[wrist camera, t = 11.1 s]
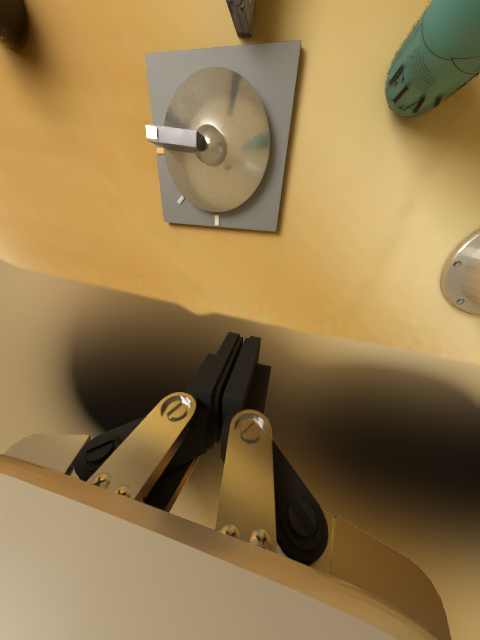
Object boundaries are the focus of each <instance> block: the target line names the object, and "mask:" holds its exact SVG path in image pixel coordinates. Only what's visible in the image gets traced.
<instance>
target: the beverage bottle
mask: <svg viewBox="0 0 480 640" xmlns="http://www.w3.org/2000/svg"><path fill="white" fill-rule="evenodd" d="M427 5H428V4H427ZM425 10H426V11H425V12H424V14H423V15H422V14H421V15H422V17H421V16H420V17H421V18H419V17H418V19H420V20H418V23H417V24H416V26H415V27H414V26H413V27H414V28H413V30H412V29H411V30H410V31H412V32H410V31H409V32H410V35H409V34H408V35H409V36H408V35H407V37H408V38H406V40H405V39H404V40H405V42H404V44H403V46H402V47H401V46H400V47H401V49H400V48H399V51H398V53H397V52H396V53H395V54H397V55H395V59H394V58H393V63H391V68H390V70H389V69H388V70H389V72H388V73H389V74H388V73H387V74H388V78H387V77H386V78H387V83H385V86H386V91H385V94H386V99H387V103H388V105H389V107H390V108H391V110H393V111H394V112H395V113H396V114H398V115H401V116H404V117H406V116H413V115H418V116H419V114H422V113H423V112H424V114H425V111H427V110H429V109H431V108H432V107H433V108H434V107H437V106H438V105H439V103H440V102H441V101H442V100H444V99H445V98H447V96H448V95H449V96H450V94H451V93H452V92H454V91H455V90H457V91H458V89H459V88H460V87H461V88H462V86H463V85H466V83H467V82H468V81H470V80H471V79H472V78H474V77H475V76H476V75H478V74H479V73H480V0H432V1H431V3H430V5H429V6H428V8H427V9H425ZM422 13H423V12H422ZM401 45H402V44H401ZM391 62H392V61H391ZM479 75H480V74H479ZM475 78H476V77H475ZM461 88H460V89H461ZM460 89H459V90H460ZM454 93H455V92H454ZM452 94H453V93H452ZM447 99H448V98H447ZM431 110H432V109H431ZM429 111H430V110H429ZM427 112H428V111H427ZM413 117H415V116H413Z"/></svg>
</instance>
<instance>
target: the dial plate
mask: <svg viewBox="0 0 480 640" xmlns="http://www.w3.org/2000/svg"><path fill="white" fill-rule="evenodd" d="M300 51H301V40H297V41H285V42H273V43H262V44H250V45H238V46H227V47H215V48H203V49H192V50H180V51H168V52H156V53H145V58H146V67H147V76H148V84H149V93H150V102H151V111H152V119H153V125H157V126H164V121H165V116H166V113H167V109H168V106H169V104H170V101H171V99H172V97H173V95H174V94H175V92H176V90H177V89H178V87H179V86H180V85H181V84H182V82H183V81H184V80H186V79H187V78H188V77H189V76H190V75H192V74H193V73H195V72H196V71H199V70H201V69H203V68H208V67H224V68H228V69H230V70H233V71H235V72H237V73H238V74H240V75H241V76H242V77H244V78H245V79H246V80H247V81H248V82H249V83H250V84H251V86H252V87H253V88H254V89H255V91H256V93H257V94H258V96H259V98H260V100H261V102H262V105H263V107H264V110H265V113H266V116H267V120H268V124H269V129H270V156H269V161H268V166H267V169H266V172H265V175H264V178H263V180H262V182H261V184H260V186H259V187H258V189H257V190H256V192H255V193H254V194H253V195H252V197H251V198H250V199H249V200H248V201H246V202H245V203H244V204H242V205H241V206H239V207H237V208H235V209H233V210H230V211H225V212H210V211H206V210H203V209H200V208H198V207H196V206H195V205H193V204H192V203H190V202H189V201H188V200H187V199H186V198H185V197H184V196H183V195H182V194H181V193H180V192H179V190H178V189H177V187H176V186H175V184H174V182H173V180H172V178H171V176H170V174H169V171H168V168H167V165H166V161H165V156H164V149H163V147H160V146H158V145H156V144H155V145H156V154H157V163H158V172H159V180H160V189H161V198H162V207H163V215H164V222H168V223H180V224H191V225H203V226H215V227H226V228H238V229H250V230H262V231H273V232H276V231H277V224H278V216H279V209H280V201H281V194H282V186H283V179H284V171H285V164H286V156H287V148H288V141H289V133H290V126H291V118H292V111H293V103H294V96H295V88H296V81H297V73H298V66H299V58H300Z"/></svg>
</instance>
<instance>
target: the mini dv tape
mask: <svg viewBox="0 0 480 640" xmlns="http://www.w3.org/2000/svg"><path fill="white" fill-rule="evenodd" d="M226 2H227V5H228V8H229V11H230V14H231V17H232V20H233V23H234V26H235V29H236V32H237V35H238V37H252V27H253V18H254V8H255V0H226Z"/></svg>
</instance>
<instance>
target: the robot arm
mask: <svg viewBox="0 0 480 640" xmlns="http://www.w3.org/2000/svg"><path fill="white" fill-rule="evenodd" d="M440 285H441V290H442V293H443V295H444V297H445V298H446V299H447V300H448V302H449V303H451V304H452V305H454V306H455V307H457V308H459V309H461V310H462V311H465V312H468V313H472V314H478V315H480V229H479V230H477V231H476V232H475V233H473V234H472V235H470V236H469V237H468V238H466V239H465V240H464V241H463V242H462V243H461V244H460V245H459V246H458V247H457V248H456V249H455V250H454V251H453V253H452V254H451V255H450V256H449V258H448V260H447V261H446V263H445V265H444V268H443V270H442V273H441V279H440ZM260 342H261V338H259V337H253V336H250V338H246V339H245V341H244V344H243V337H240V335H239V334H237V333H232V332H229V333H228V334H227V336H226V338H225V340H224V341H223V343H222V345H221V347H220V349H219V350H218V352H217V354H216V355H214V354H208V355H207V357H206V358H205V360H204V362H203V363H202V365H201V367H200V368H199V370H198V372H197V373H196V375H195V376H194V378H193V380H192V381H191V383H190V384H189V386H188V388H187V389H186V391H185V393H183V392H181V393H179V392H178V393H174V394H170V395H168V396H166V397H165V398H164V399H163V400H161V401H160V403H159V404H158V405H157V406H156V407H155V408H154V409H153V410H152V411H151V412H150V413H149V414H148V415H147V416H145V417H142V418H140V419H137V420H135V421H132V422H130V423H127V424H125V425H123V426H120V427H118V428H115V429H112V430H110V431H108V432H105V433H103V434H100V435H98V436H96V437H94V438H91V437H90V435H68V434H34V435H31V436H28V437H26V438H23V439H22V440H20V441H19V442H17V443H15V444H14V445H13V446H12V447H10V448H9V449H8V450H7V451H6V452H5V453H4V454H0V640H451V635H450V631H449V626H448V622H447V616H446V613H445V610H444V607H443V604H442V601H441V598H440V596H439V594H438V593H437V591H436V589H435V587H434V585H433V584H432V582H431V580H430V579H429V578H428V577H427V575H426V574H425V573H424V572H423V571H422V569H420V567H419V566H417V565H416V564H415V563H413V562H412V561H411V560H410V559H409V558H407V557H405V556H404V555H402V554H400V553H399V552H397V551H395V550H394V549H392V548H390V547H389V546H387V545H385V544H383V543H382V542H380V541H379V540H377V539H375V538H374V537H372V536H370V535H369V534H367V533H365V532H364V531H362V530H360V529H359V528H357V527H355V526H354V525H352V524H350V523H349V522H347V521H345V520H344V519H342V518H340V517H338V516H337V515H335V516H334V517H333V516H332V515H330V514H328V513H327V512H325V511H324V510H322V509H321V507H320V505H319V504H318V502H317V501H316V500H315V498H314V497H313V496H312V494H311V493H310V491H309V490H308V489H307V487H306V486H305V484H304V483H303V482H302V480H301V479H300V478H299V476H298V475H297V473H296V472H295V470H294V469H293V468H292V466H291V465H290V463H289V462H288V461H287V459H286V458H285V457H284V455H283V454H282V452H281V451H280V450H279V448H278V447H277V445H276V444H275V443H274V441H273V440H272V431H271V425H270V423H269V421H268V419H267V418H266V417H265V416H264V415H263V414H264V408H265V402H266V396H267V390H268V383H269V377H270V371H271V366H267V365H262V364H258V359H259V351H260ZM220 437H221V458H222V460H223V462H224V464H225V465H224V472H223V479H222V486H221V492H220V500H219V506H218V513H217V520H216V527H215V530H213V529H211V528H208V527H205V526H203V525H200V524H197V523H195V522H192V521H189V520H187V519H184V518H181V517H179V516H176V515H173V514H171V513H169V512H170V510H171V508H172V507H173V505H174V503H175V501H176V499H177V498H178V496H179V494H180V492H181V490H182V489H183V487H184V485H185V483H186V481H187V479H188V477H189V475H190V474H191V472H192V470H193V468H194V466H195V465H196V463H197V461H198V458H199V456H200V455H202V454H204V453H206V451H207V448H209V449H212V447H213V444H214V442H219V440H220Z"/></svg>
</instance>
